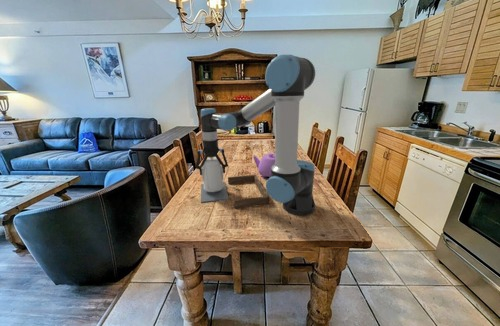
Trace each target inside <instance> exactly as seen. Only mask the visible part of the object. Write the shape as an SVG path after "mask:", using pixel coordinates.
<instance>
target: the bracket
mask: <svg viewBox="0 0 500 326" xmlns="http://www.w3.org/2000/svg"><path fill="white" fill-rule="evenodd" d="M252 182H253V183H254V184H255V186H256V188H257V189H258V191H259V192H260V195H261V196H256V197H247V198H239V199H234V200H233V205H234V209H241V208H242V209H243V208H249V207H250V208H251V207H258V206H268V205H270V199H271V196H270V195H269V194H268V192H267V190H266V189H265V187H264V186H263V184H262V182H261V181H260V179H259V178H258V176H257V174H249V175H247V174H246V175H237V176H228V177H227V184H228V185H232V184H233V185H234V184H241V183H242V184H243V183H252Z"/></svg>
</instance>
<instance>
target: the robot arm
mask: <svg viewBox="0 0 500 326" xmlns="http://www.w3.org/2000/svg"><path fill="white" fill-rule="evenodd" d="M264 77H265V84H266V86H267V87H268V89H267V90H266V91H264V92H263V93H262V94H259V95H258V96H257V97H256V98H254V99H253V100H251V101H250V102H249V103H247V104H246V105H245V106H244V107H242V108H241V109H240V110H238V111H234V112H233V111H232V112H227V113H225V112H224V113H218V112H217V111H216V108H213V107H212V108H211V107H210V108H207V107H206V108H202V109H200V122H201V123H200V124H201V135H202V144H203V147H202V149H198V150H197V159H196V165H195V170H199V175H200V176H202V182H204V172H203V169H201V168H202V166H203V165H204V163H205V161H206V159H208V158H209V157H213V158H217V160H218V161H219V162H220V164H221V172H222V180H225V179H224V174H225V173H226V167H228V166H229V162H228V161H227V158H226V155H225V148H224V147H222V148H219V141H218V130H221V131H232V130H234V129H235V128H240V127H245V126H248V125H251V123H252V121H253V120H255V119H256V118H258V117H259V116H261V115H262V114H264V113H266V112H267V111H269V110H270V109H272V108H273V107H275V110H274V113H275V116H274V117H275V118H274V119H275V120H274V121H275V124H274V125H275V127H274V129H275V130H274V131H275V136H274V139H275V140H274V141H275V142H274V143H275V144H274V153H275V164H274V165H273V166H272V167H271V177H269V178H268V179H267V180H266V183H265V188H266V189H265V191H266V192H267V194H268V195H269V197H270V199H272V200H274V201H275V202H277V203H278V204H279V203H281V204H282V208H283V210H284V212H287V213H289V214H291V215H294V216H308V215H312V214H313V213H314V212H315V210H316V202H315V199H314V195H313V191H314V180H315V179H314V178H315V172H316V171H315V164H314V163H312V162H311V161H307V160H302V159H298V146H299V123H300V121H299V120H300V102H301V100H302V99H304V98H305V90H307V89H309V88H310V87H311V85H312V84H313V83H314V81H315V78H316V68H315V66H314V64H313V63H312V61H310V59H308V58H305V57H301V56H300V57H299V56H298V55H297V56H296V55H294V54H279V55H277V56H275V57H274V58H272V59H271V61H270V62H269V63H268V65H267V67H266V70H265V75H264ZM219 152H220V153H221V156H222V159H223V160H222V159H221V158H220V155H218V153H219ZM203 154H204V157H203V159H202V161H201V155H203ZM200 161H201V163H200ZM223 161H224V162H223Z"/></svg>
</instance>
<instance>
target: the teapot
mask: <svg viewBox="0 0 500 326" xmlns="http://www.w3.org/2000/svg"><path fill="white" fill-rule="evenodd" d="M252 157H253V161H254V162H255V166H256V168H257V171H258V173H259V175H261V176H260V178H263V179H264V178H268V177H269V178H270V177H271V167H272V166H273V165H274V164H275V152H274V153H272V152H269V153H268V154H267V153H266V154H264V155H263V156H262V157H261V158H260V159H259V158H258V157H257V155H253V156H252Z"/></svg>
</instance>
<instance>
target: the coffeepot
mask: <svg viewBox="0 0 500 326" xmlns="http://www.w3.org/2000/svg"><path fill="white" fill-rule="evenodd" d="M221 167H222V165H221V164H220V162H219V161H218V160H217V158H216V157H208V158H207V159H206V161H205V163H204V165H203V166H202V168H201V169H203V172H204V181H203V184H204V190H205V191H207V192H217V191H220V190H222V189H223V182H224V181H223V180H224V179H223V180H222V172H221Z"/></svg>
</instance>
